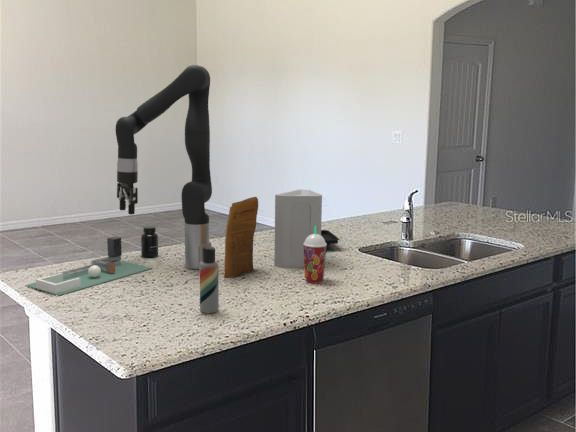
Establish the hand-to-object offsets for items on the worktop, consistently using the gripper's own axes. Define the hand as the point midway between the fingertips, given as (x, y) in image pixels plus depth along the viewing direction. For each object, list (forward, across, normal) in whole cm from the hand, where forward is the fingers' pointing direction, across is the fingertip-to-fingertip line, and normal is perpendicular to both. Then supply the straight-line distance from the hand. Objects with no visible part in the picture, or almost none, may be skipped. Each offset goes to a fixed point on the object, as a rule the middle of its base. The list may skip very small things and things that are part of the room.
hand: (126, 212), depth 238 cm
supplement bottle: (+20, +6, -13) cm, 25 cm away
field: (+21, -11, +18) cm, 29 cm away
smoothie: (+17, -59, -46) cm, 77 cm away
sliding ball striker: (+20, -5, +7) cm, 21 cm away
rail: (+21, -4, +17) cm, 27 cm away
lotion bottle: (+19, -65, 0) cm, 68 cm away
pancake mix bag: (+18, -36, -30) cm, 50 cm away
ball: (+18, -13, +17) cm, 28 cm away
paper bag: (+18, -38, -57) cm, 71 cm away
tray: (+18, -16, -80) cm, 83 cm away
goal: (+21, -18, +31) cm, 41 cm away
